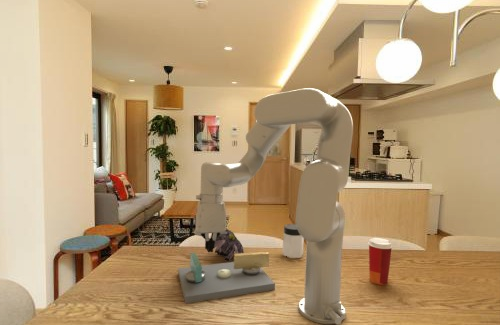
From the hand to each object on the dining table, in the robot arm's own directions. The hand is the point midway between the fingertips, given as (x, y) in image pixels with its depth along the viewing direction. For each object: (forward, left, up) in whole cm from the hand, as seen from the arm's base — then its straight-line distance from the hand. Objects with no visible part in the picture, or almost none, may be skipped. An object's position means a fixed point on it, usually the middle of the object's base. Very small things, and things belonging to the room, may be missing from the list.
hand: (209, 250), depth 101 cm
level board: (-5, -4, -9) cm, 11 cm away
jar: (+10, -37, -9) cm, 40 cm away
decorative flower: (+16, -10, -9) cm, 21 cm away
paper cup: (-20, -54, -9) cm, 59 cm away
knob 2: (-5, -13, -7) cm, 16 cm away
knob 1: (-5, +6, -7) cm, 10 cm away
